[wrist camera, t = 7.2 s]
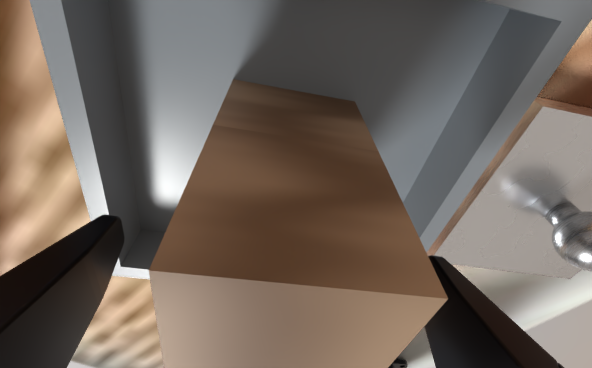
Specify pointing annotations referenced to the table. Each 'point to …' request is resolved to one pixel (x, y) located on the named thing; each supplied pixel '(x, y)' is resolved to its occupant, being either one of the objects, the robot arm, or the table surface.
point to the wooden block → (290, 244)
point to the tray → (294, 76)
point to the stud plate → (530, 199)
